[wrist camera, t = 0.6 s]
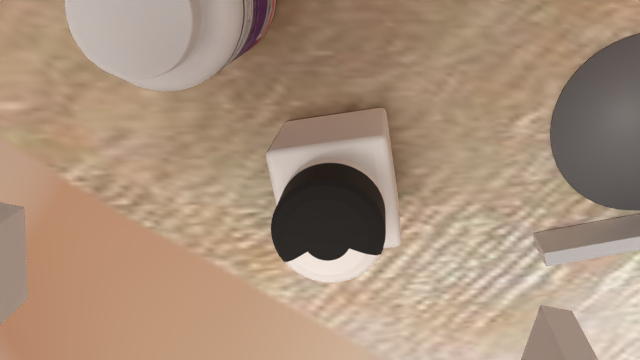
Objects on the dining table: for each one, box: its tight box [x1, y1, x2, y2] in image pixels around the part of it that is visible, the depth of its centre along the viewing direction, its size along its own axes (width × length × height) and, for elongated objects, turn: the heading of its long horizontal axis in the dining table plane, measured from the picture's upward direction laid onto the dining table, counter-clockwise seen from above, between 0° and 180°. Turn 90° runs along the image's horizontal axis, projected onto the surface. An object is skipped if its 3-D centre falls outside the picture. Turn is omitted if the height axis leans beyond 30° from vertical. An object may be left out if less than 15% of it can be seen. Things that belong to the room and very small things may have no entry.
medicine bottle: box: [266, 108, 401, 283], centre depth 35 cm, size 7×7×12 cm
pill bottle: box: [65, 0, 276, 92], centre depth 30 cm, size 8×8×14 cm
